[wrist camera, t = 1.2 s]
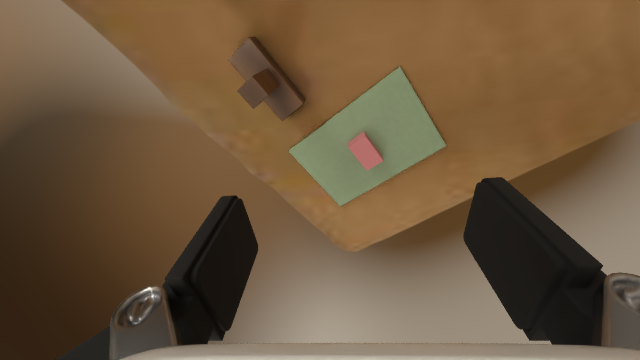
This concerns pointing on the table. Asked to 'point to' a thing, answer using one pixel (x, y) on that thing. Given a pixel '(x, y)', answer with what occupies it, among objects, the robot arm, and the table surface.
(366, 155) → the eraser
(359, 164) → the desk pad
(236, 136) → the table surface
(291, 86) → the brown t-shaped block
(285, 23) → the table surface
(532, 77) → the table surface
